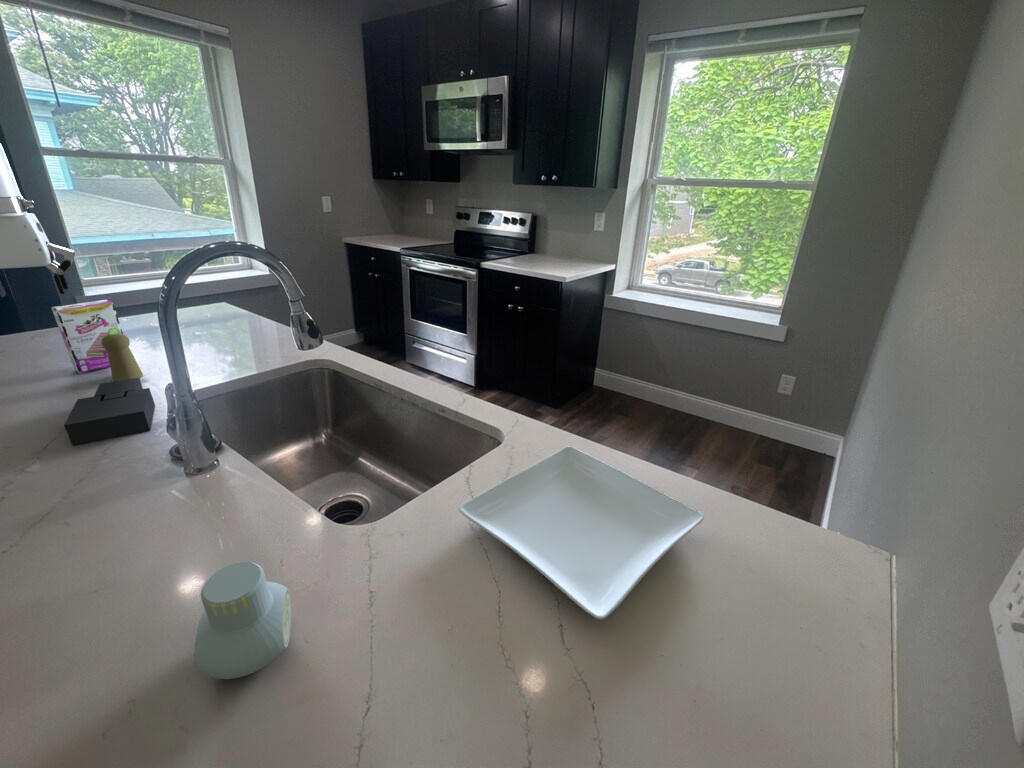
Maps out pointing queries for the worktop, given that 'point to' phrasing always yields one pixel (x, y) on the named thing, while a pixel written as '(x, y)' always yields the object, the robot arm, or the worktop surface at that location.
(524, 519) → the square plate
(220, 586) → the air freshener
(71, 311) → the candy bar box
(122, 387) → the pad
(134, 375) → the cork
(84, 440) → the notch pad
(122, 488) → the worktop surface
